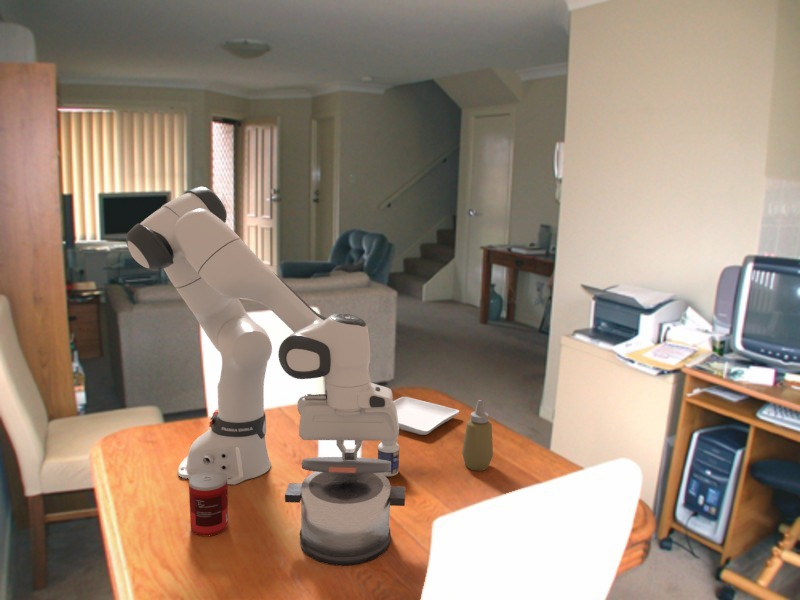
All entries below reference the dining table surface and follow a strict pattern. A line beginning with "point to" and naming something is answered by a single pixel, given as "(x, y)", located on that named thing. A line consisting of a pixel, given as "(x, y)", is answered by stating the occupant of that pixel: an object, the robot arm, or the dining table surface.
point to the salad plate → (421, 415)
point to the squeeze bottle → (478, 440)
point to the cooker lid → (346, 465)
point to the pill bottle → (389, 455)
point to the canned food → (208, 502)
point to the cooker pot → (345, 515)
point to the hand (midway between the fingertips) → (349, 459)
